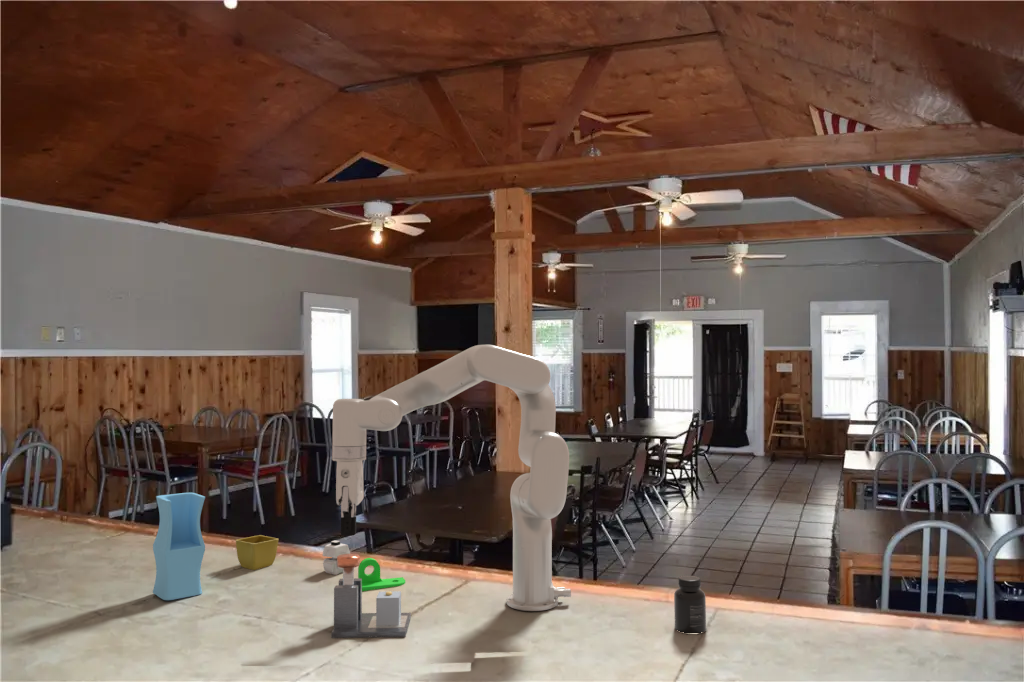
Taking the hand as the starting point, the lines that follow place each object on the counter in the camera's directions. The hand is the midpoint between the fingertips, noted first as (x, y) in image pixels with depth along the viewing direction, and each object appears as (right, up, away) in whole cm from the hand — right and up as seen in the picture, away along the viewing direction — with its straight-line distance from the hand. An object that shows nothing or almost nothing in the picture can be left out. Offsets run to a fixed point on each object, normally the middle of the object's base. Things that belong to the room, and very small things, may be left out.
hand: (348, 534), depth 178 cm
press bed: (+6, -21, 0) cm, 22 cm away
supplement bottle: (+77, -21, -4) cm, 79 cm away
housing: (+9, -20, 0) cm, 22 cm away
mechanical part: (+3, -22, +30) cm, 38 cm away
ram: (0, -17, 0) cm, 17 cm away
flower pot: (-37, -23, +49) cm, 65 cm away
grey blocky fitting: (-12, -22, +42) cm, 49 cm away
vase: (-50, -22, +26) cm, 60 cm away
